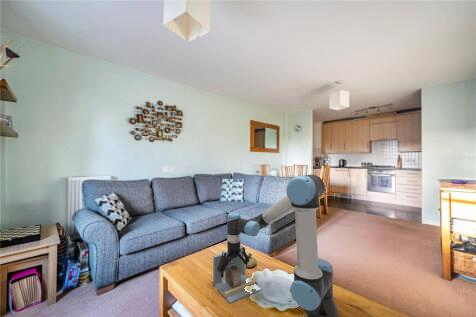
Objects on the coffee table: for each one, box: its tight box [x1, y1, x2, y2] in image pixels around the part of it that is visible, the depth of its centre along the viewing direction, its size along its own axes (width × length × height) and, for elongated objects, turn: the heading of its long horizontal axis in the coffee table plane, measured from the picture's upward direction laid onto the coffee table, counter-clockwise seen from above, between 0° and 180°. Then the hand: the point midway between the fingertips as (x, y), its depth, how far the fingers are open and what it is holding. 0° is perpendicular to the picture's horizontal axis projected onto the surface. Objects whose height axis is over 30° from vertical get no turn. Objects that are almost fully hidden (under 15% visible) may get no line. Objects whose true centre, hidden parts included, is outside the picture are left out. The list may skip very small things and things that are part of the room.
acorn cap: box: [244, 252, 258, 269], centre depth 135 cm, size 10×11×10 cm
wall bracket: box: [212, 251, 257, 304], centre depth 111 cm, size 20×20×16 cm
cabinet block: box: [227, 265, 241, 289], centre depth 111 cm, size 7×5×10 cm
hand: (234, 278), depth 111 cm, fingers open, 13 cm apart
